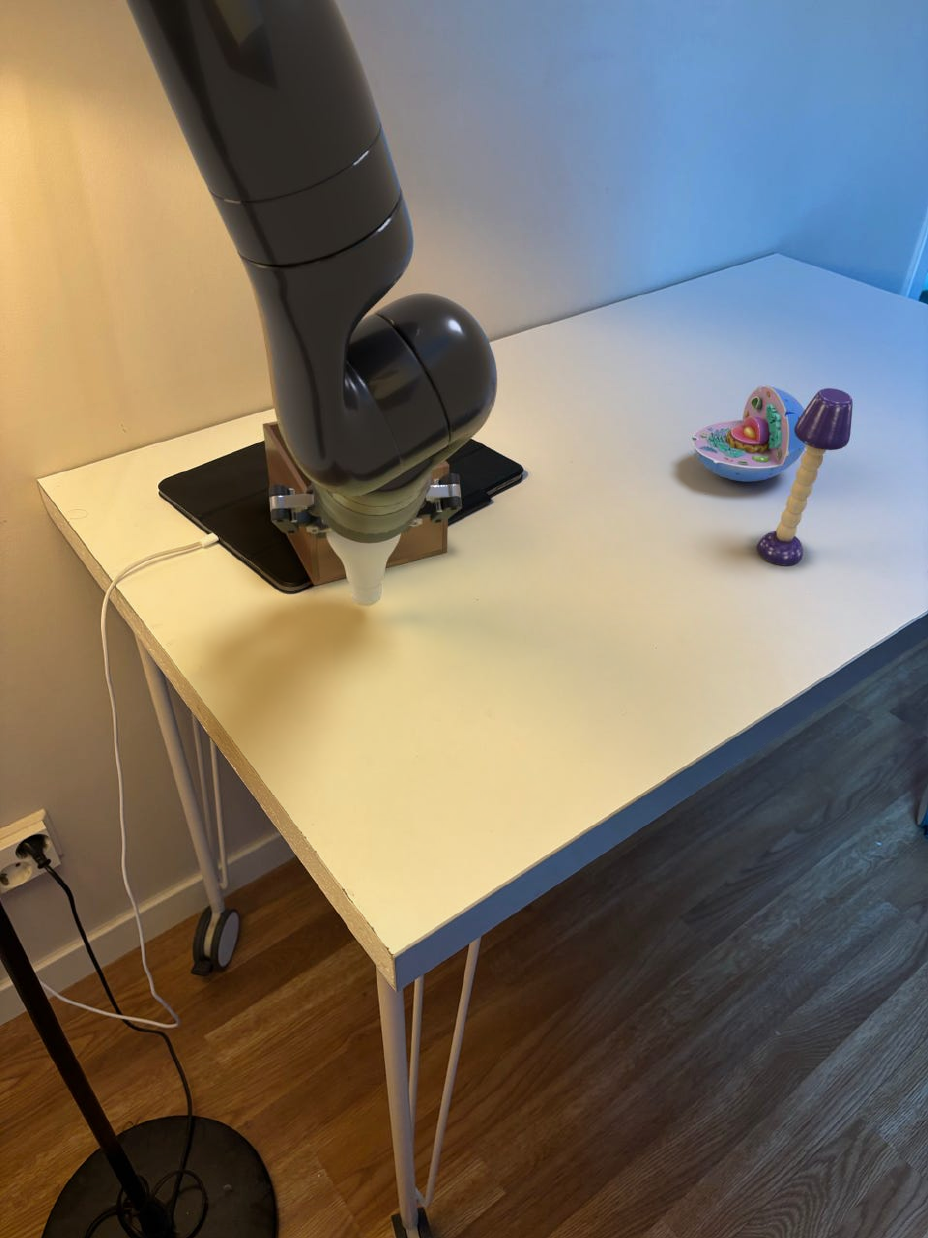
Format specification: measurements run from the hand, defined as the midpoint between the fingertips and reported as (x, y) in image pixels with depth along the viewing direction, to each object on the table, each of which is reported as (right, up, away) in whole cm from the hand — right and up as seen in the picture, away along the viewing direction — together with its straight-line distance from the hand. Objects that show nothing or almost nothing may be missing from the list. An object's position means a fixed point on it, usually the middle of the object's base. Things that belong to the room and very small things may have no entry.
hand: (361, 522), depth 78 cm
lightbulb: (0, -7, +4) cm, 8 cm away
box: (-2, +1, +14) cm, 14 cm away
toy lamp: (+39, -2, +13) cm, 41 cm away
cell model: (+38, +7, +24) cm, 45 cm away
